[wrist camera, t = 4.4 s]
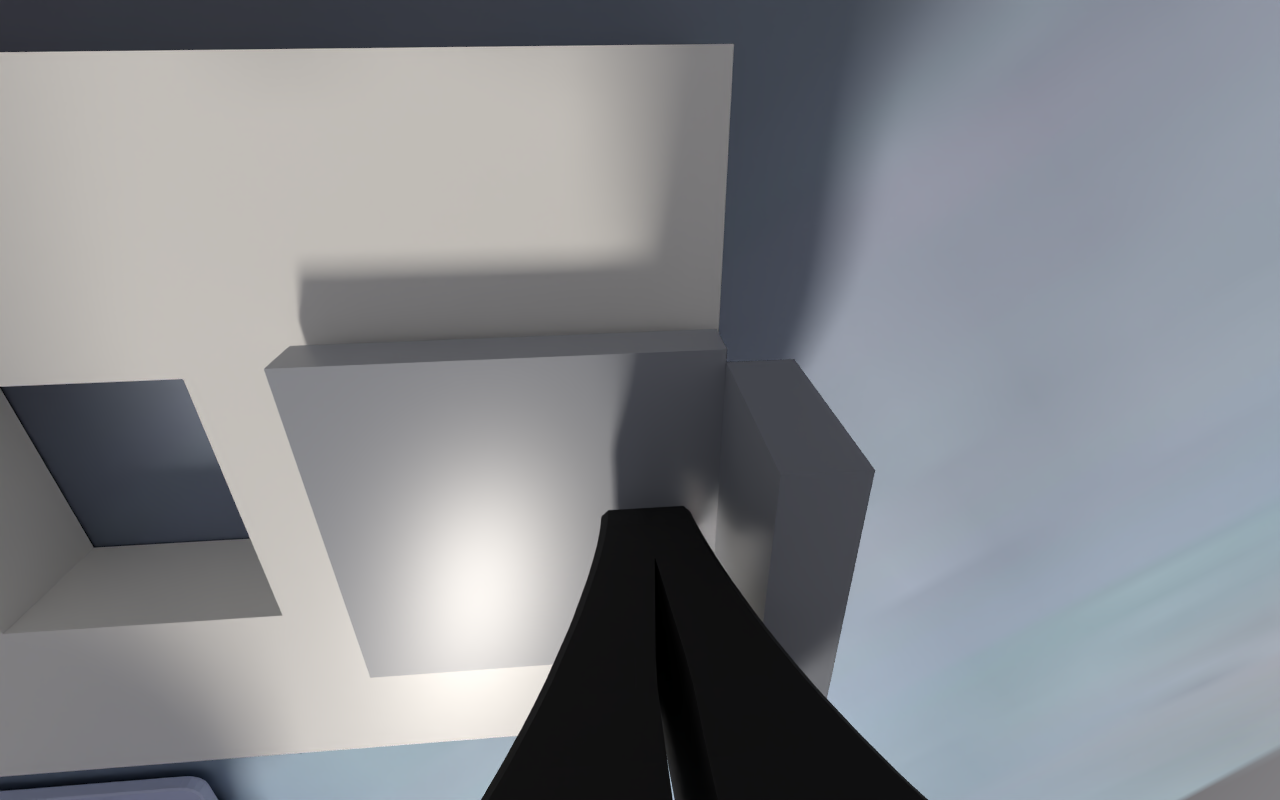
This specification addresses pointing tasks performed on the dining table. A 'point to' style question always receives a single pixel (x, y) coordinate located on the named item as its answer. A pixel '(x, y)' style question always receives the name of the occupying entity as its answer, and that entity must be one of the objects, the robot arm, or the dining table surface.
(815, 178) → the dining table surface
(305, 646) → the socket
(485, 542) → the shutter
